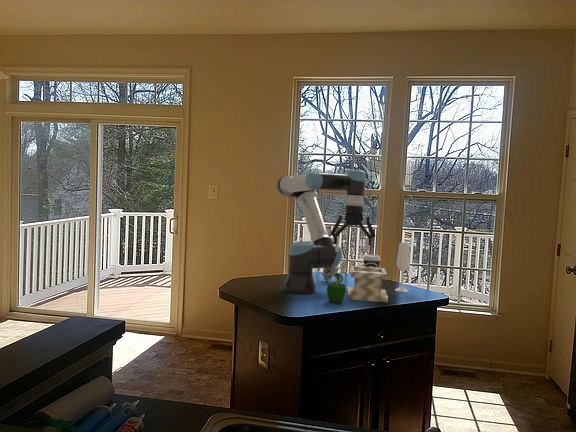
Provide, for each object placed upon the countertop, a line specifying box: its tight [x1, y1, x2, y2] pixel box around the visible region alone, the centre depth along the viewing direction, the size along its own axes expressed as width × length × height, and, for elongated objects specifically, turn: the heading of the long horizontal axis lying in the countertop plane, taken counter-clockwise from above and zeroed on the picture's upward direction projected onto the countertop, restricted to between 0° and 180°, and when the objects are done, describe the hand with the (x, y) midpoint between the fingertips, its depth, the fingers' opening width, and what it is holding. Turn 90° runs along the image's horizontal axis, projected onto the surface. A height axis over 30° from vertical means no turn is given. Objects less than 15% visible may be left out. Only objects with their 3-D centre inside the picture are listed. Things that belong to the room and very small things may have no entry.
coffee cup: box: [362, 254, 382, 268], centre depth 246 cm, size 10×10×15 cm
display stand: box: [346, 265, 389, 303], centre depth 216 cm, size 18×18×12 cm
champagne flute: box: [394, 242, 411, 293], centre depth 232 cm, size 7×7×24 cm
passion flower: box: [320, 267, 348, 284], centre depth 246 cm, size 11×11×12 cm
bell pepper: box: [326, 278, 347, 304], centre depth 202 cm, size 8×8×10 cm
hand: (351, 252), depth 206 cm, fingers open, 13 cm apart
